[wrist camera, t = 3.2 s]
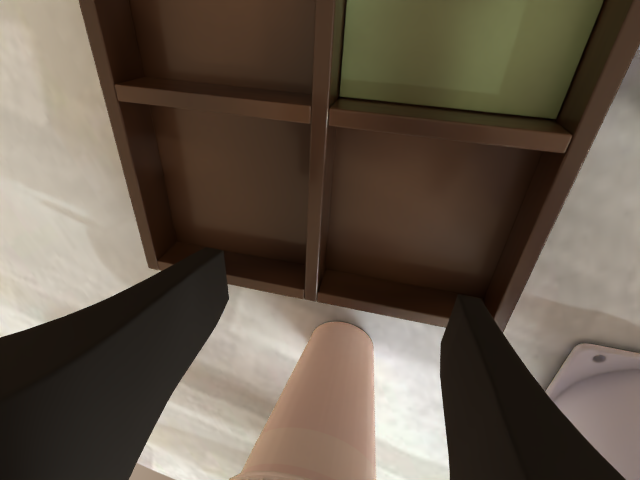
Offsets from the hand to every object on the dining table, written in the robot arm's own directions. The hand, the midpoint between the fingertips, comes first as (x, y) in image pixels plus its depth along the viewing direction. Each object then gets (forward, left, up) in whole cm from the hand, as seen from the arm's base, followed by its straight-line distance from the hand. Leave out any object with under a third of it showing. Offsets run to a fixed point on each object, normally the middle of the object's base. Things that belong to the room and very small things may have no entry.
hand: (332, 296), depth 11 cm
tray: (+1, -4, -6) cm, 8 cm away
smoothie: (0, +9, -6) cm, 11 cm away
